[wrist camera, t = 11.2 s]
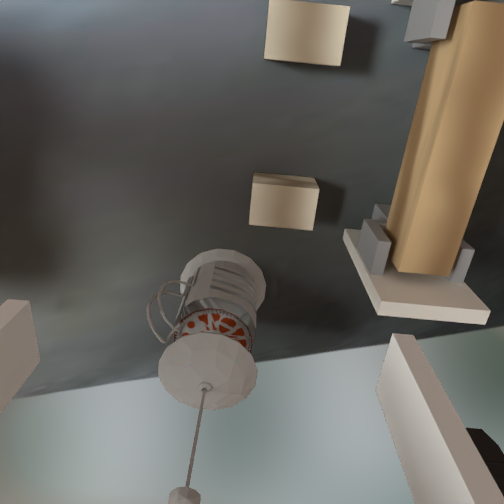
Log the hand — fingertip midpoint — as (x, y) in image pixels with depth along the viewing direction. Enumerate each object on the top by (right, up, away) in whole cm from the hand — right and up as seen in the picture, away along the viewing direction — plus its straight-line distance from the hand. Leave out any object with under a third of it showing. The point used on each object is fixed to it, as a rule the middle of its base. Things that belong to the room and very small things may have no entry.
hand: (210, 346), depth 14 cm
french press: (-2, 0, +30) cm, 30 cm away
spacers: (+5, +16, +22) cm, 27 cm away
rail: (+16, +12, +17) cm, 26 cm away
